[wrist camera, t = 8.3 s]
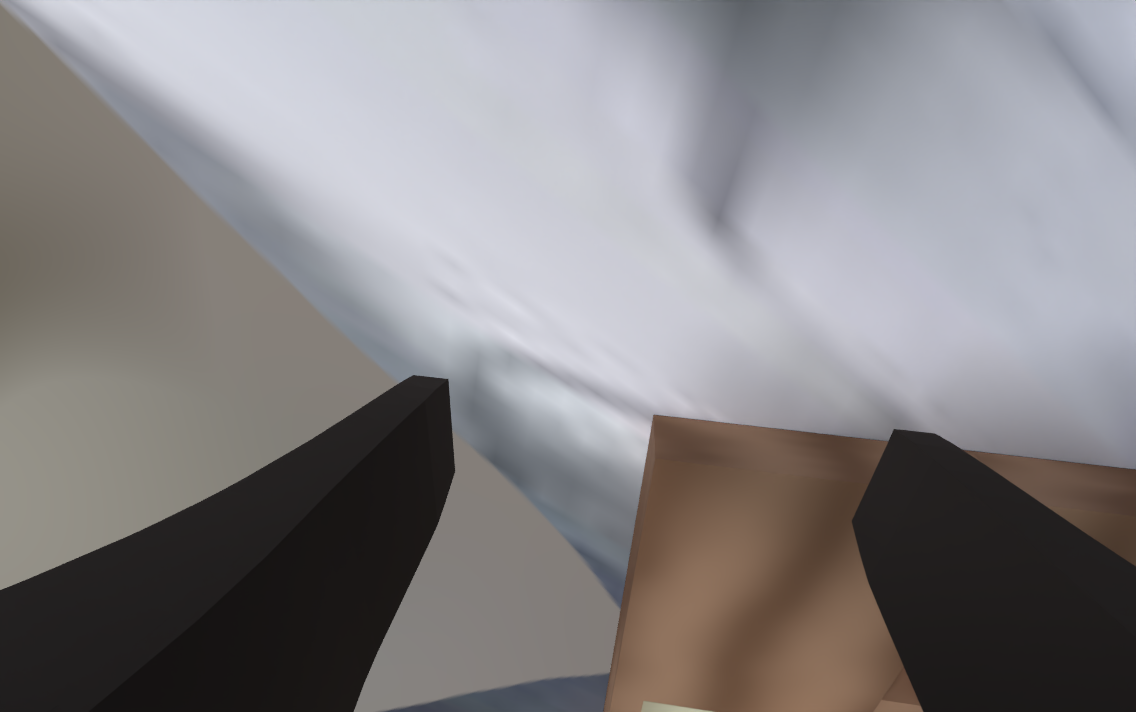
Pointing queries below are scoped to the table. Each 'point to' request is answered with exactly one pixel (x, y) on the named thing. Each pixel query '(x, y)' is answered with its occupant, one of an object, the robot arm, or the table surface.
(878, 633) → the trap deck
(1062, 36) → the table surface
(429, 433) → the robot arm
